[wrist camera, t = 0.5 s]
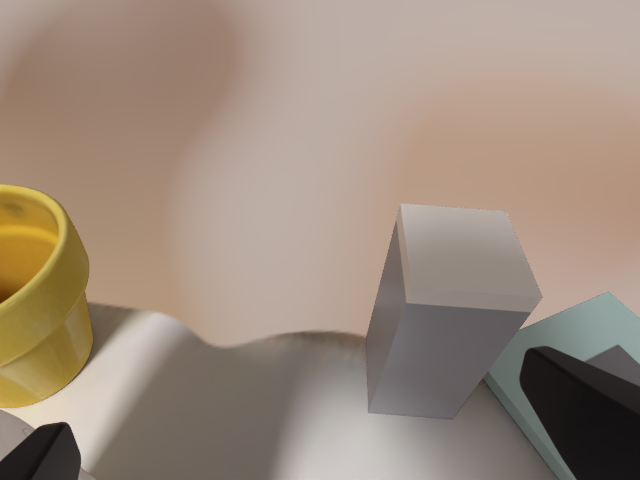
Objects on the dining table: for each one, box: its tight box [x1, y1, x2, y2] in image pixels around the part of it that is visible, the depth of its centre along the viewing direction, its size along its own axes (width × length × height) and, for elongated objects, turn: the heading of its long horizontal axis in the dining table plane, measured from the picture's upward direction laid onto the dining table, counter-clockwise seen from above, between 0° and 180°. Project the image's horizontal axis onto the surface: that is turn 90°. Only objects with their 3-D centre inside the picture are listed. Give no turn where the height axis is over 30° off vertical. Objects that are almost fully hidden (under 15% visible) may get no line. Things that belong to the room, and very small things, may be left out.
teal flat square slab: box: [483, 292, 640, 480], centre depth 24 cm, size 13×13×1 cm
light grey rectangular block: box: [366, 204, 542, 419], centre depth 21 cm, size 5×5×12 cm
